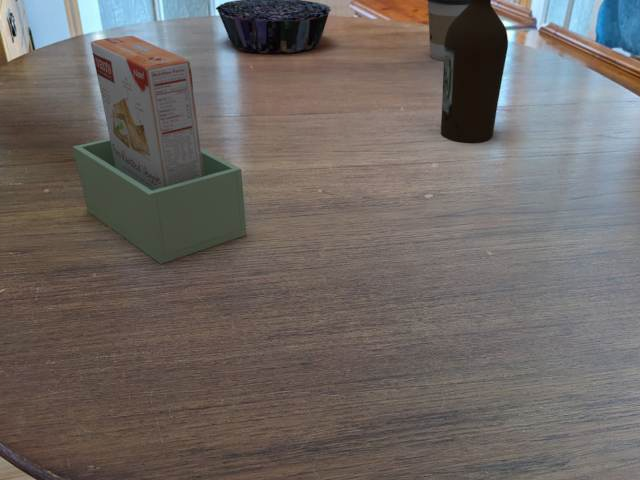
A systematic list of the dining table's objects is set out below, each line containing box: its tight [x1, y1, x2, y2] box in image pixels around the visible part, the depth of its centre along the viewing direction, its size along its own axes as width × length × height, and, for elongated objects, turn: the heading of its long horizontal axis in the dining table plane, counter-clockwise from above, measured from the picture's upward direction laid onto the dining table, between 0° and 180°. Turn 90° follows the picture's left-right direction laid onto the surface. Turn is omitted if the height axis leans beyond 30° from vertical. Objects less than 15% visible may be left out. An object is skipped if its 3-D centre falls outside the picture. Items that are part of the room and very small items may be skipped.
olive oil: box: [440, 0, 509, 143], centre depth 123 cm, size 11×11×25 cm
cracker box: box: [90, 35, 204, 190], centre depth 90 cm, size 14×6×21 cm, turn 42°
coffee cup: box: [426, 0, 471, 62], centre depth 170 cm, size 11×11×15 cm
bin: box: [72, 138, 248, 265], centre depth 94 cm, size 13×20×9 cm, turn 43°
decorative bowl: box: [215, 0, 332, 54], centre depth 176 cm, size 26×28×10 cm
